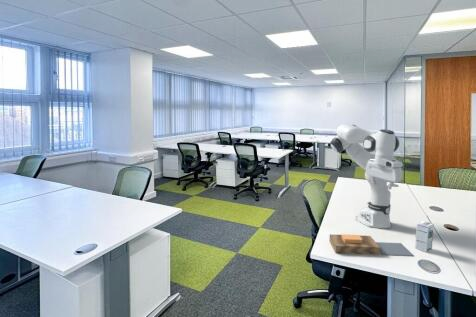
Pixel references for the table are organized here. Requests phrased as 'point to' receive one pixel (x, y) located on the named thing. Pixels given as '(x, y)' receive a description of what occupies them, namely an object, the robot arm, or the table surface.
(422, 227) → the syrup box
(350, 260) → the table surface
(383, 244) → the mat
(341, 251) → the deck
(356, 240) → the block
